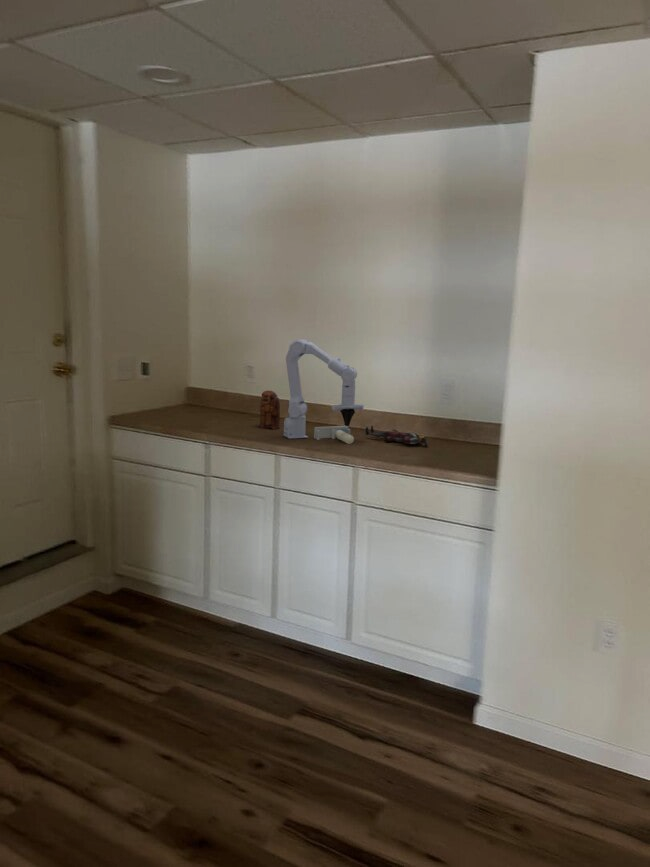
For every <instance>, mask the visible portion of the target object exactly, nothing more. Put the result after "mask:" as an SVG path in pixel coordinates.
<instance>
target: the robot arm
mask: <svg viewBox="0 0 650 867" xmlns="http://www.w3.org/2000/svg"><path fill="white" fill-rule="evenodd" d="M306 354H307V355H313V356H315V357H316V358H318V359H319V360H320V361H323V362H324V363H326V364H327V368H328V369H329V370H330V371H332V372H334V373H335V374H336V375H337V376H339V377H341V380H342V385H341V386H342V387H341V402H340V403H341V404H332V405H331V410H332V411H340V414H341V415H342V416H341V417H342V418H343V424H344V426H348V427H350V425H351V420H352V418H353V416H354V415H355V413H356V410H364V404H356V403H355V401H356V400H355V398H356V397H355V395H356V378H357V377H358V372H357V370H356V369H355V368H354V367H350V365H349V364H346V363H345V362H343V361H342V359H341V358H340V357H337V356H336V357H332V356H330V355H329V354H327V353H326V352H325V351H324V350H322V349H321V348H320V347H318V346H317V345H316V344H315V343H313V342H311V341H310V340H308V339H306V338H301V339H295V340H293V341H292V343H291V344H289V348H288V351H287V353H286V355H285V365H286V371H287V372H286V373H287V378H288V379H287V380H288V387H289V394H290V398H289V402H288V406H289V407H288V409H287V412H288V414H289V417H286V418H284V422H283V434H282V435H283V436H284V437H286V438H288V439H303V438H306V439H307V438H309V436H308V435H306V420H307V419H306V418H307V417H306V413H307V412H308V406H307V404H306V402H305V398H304V396H303V393H302V386H301V378H300V368H299V360H301V358H302V356H303V355H306Z"/></svg>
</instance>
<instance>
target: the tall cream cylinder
mask: <svg viewBox="0 0 650 867" xmlns="http://www.w3.org/2000/svg"><path fill="white" fill-rule="evenodd" d="M335 439H337V440H340V441H342V442H343V443H346V444H347V445H349V444H353V442H354V441H355V438H354V436H353V435H351V434H350V435H349V434H347V433H345V432H343V431H341V430H337V431H336V435H335Z"/></svg>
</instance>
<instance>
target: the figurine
mask: <svg viewBox="0 0 650 867" xmlns="http://www.w3.org/2000/svg"><path fill="white" fill-rule="evenodd" d="M367 435H369V436H373V437H376V438H382V439H383V440H384V442H393V441H395V442H399V443H404V444H405V445H417V444H419V443H421V444H424V446H423V447H424V448H428V446H429V445H428V443H427V438H426V436H424V435H419V434H417V433H414V432H403V431H398V430H396V429H395V428H394V429H391V430H390V429H389V430H386V431H376V430H375V429H374V426H373V425H371V427H370V431H369V427H368V426H367V427H365V436H367Z"/></svg>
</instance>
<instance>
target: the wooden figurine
mask: <svg viewBox="0 0 650 867" xmlns="http://www.w3.org/2000/svg"><path fill="white" fill-rule="evenodd" d="M280 403H281V402H280V398H279V397H278V395H277V393H276V392H275V391H273V390H264V391H262V392H261V399H260V409H259V410H260V411H259V427H260V428H262V429H271V430H277V429H280V422H281V421H280V419H281V415H280V411H281V410H280V408H281V404H280Z"/></svg>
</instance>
